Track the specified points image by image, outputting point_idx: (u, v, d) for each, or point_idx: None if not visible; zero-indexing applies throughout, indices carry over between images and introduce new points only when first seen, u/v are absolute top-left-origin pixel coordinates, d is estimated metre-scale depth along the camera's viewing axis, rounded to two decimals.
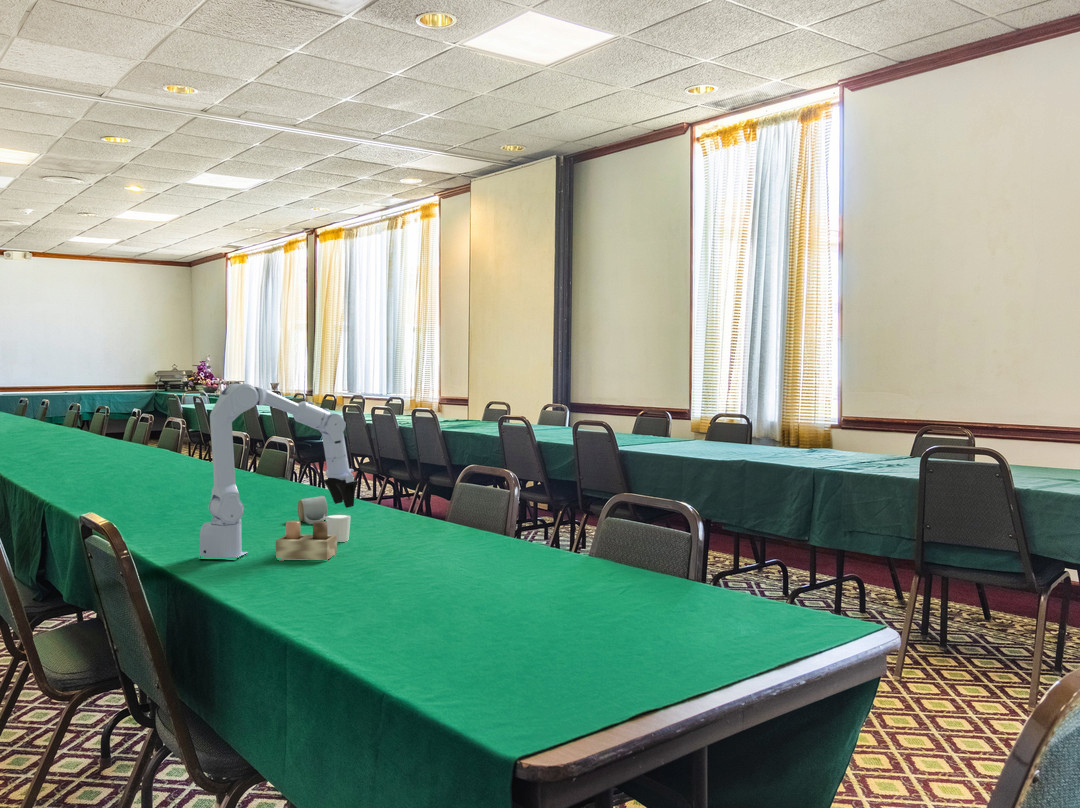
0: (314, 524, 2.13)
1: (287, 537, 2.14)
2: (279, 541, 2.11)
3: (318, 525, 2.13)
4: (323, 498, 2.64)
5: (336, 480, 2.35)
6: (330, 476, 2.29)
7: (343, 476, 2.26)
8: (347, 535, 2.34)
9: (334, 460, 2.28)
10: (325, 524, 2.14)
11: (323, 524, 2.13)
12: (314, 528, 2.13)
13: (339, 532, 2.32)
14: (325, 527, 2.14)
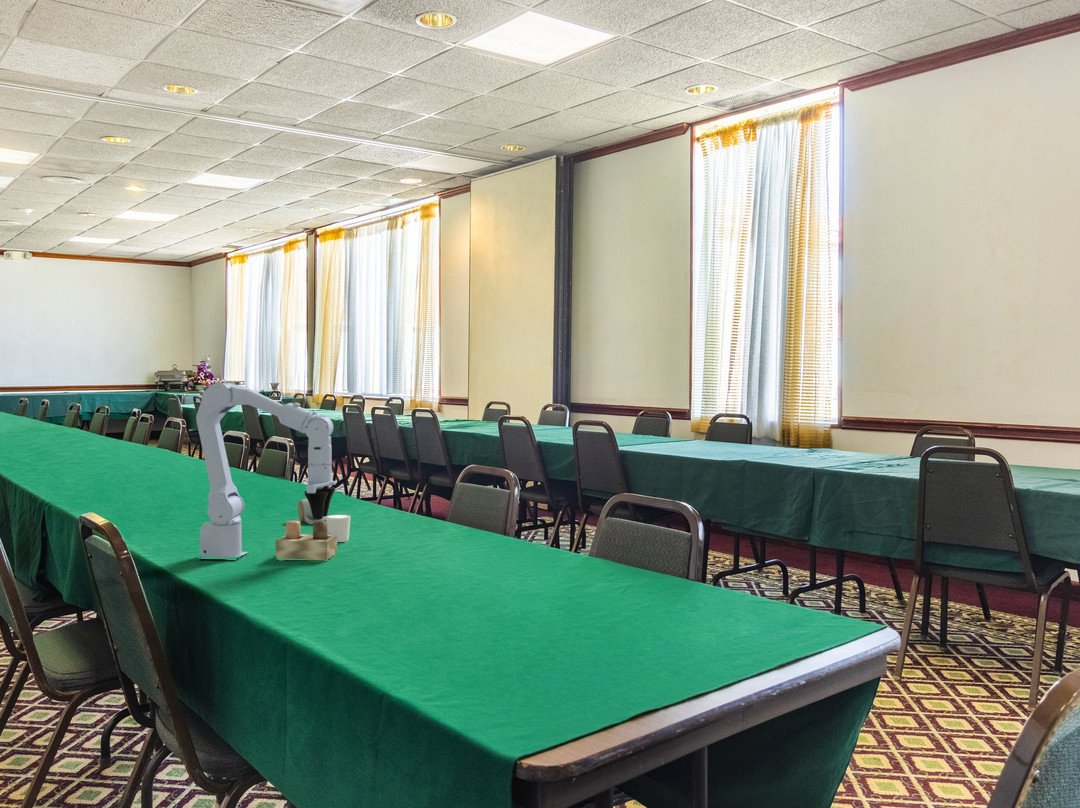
0: (314, 524, 2.13)
1: (287, 537, 2.14)
2: (279, 541, 2.11)
3: (318, 525, 2.13)
4: None
5: (323, 491, 2.16)
6: None
7: None
8: (347, 535, 2.34)
9: (310, 467, 2.12)
10: (325, 524, 2.14)
11: (323, 524, 2.13)
12: (314, 528, 2.13)
13: (339, 532, 2.32)
14: (325, 527, 2.14)
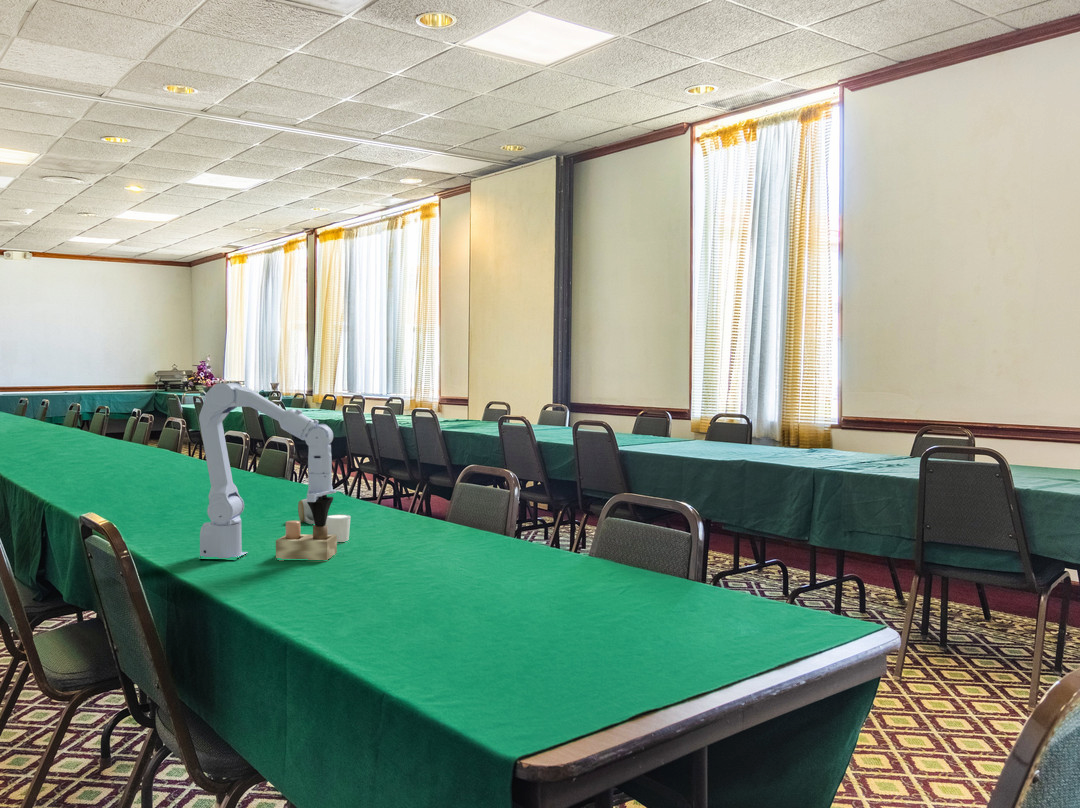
0: (314, 528, 2.13)
1: (287, 537, 2.14)
2: (279, 541, 2.11)
3: (318, 529, 2.13)
4: None
5: None
6: None
7: (308, 494, 2.08)
8: (347, 535, 2.34)
9: (310, 475, 2.12)
10: (325, 528, 2.14)
11: (323, 528, 2.13)
12: (314, 532, 2.13)
13: (339, 532, 2.32)
14: (325, 531, 2.14)
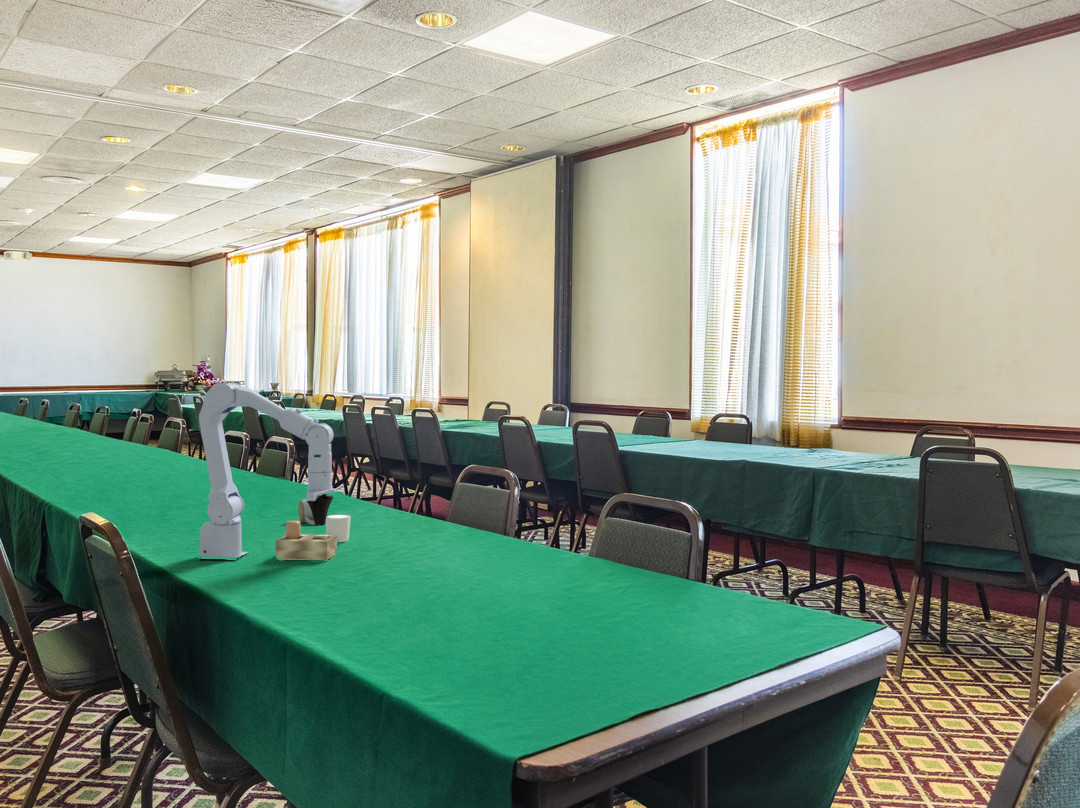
0: (314, 539, 2.13)
1: (287, 537, 2.14)
2: (279, 541, 2.11)
3: None
4: None
5: None
6: (307, 490, 2.13)
7: (307, 493, 2.08)
8: (347, 535, 2.34)
9: (310, 474, 2.12)
10: (325, 539, 2.14)
11: (323, 539, 2.13)
12: None
13: (339, 532, 2.32)
14: None
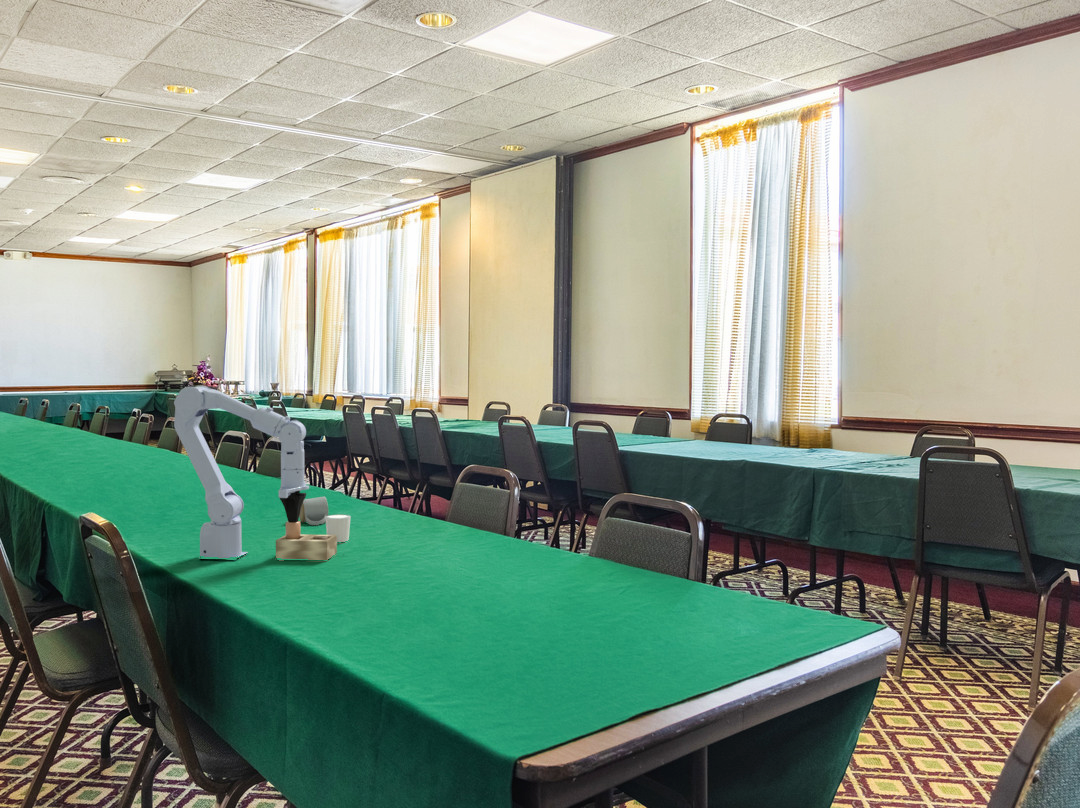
0: (314, 539, 2.13)
1: (287, 537, 2.14)
2: (279, 541, 2.11)
3: None
4: (324, 499, 2.63)
5: None
6: (280, 487, 2.14)
7: (280, 490, 2.09)
8: (347, 535, 2.34)
9: (283, 471, 2.12)
10: (325, 539, 2.14)
11: (323, 539, 2.13)
12: None
13: (339, 532, 2.32)
14: None
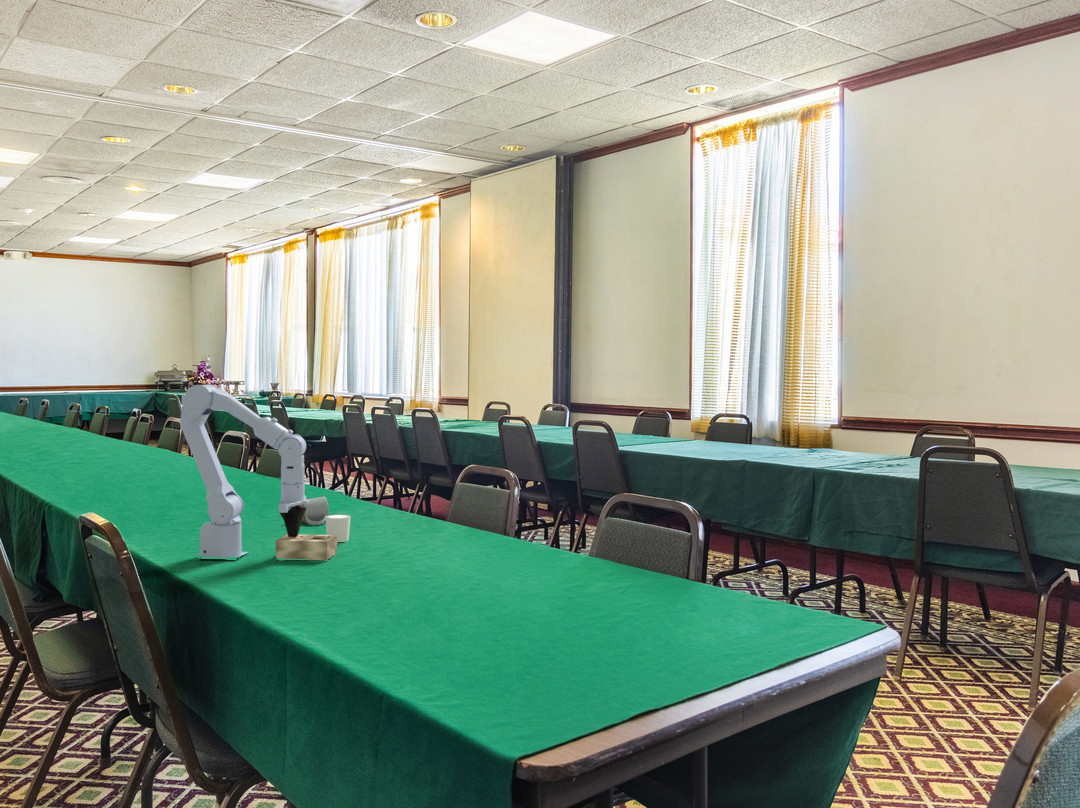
0: (314, 539, 2.13)
1: None
2: (279, 541, 2.11)
3: None
4: (324, 499, 2.63)
5: None
6: None
7: None
8: (347, 535, 2.34)
9: (283, 486, 2.12)
10: (325, 539, 2.14)
11: (323, 539, 2.13)
12: None
13: (339, 532, 2.32)
14: None
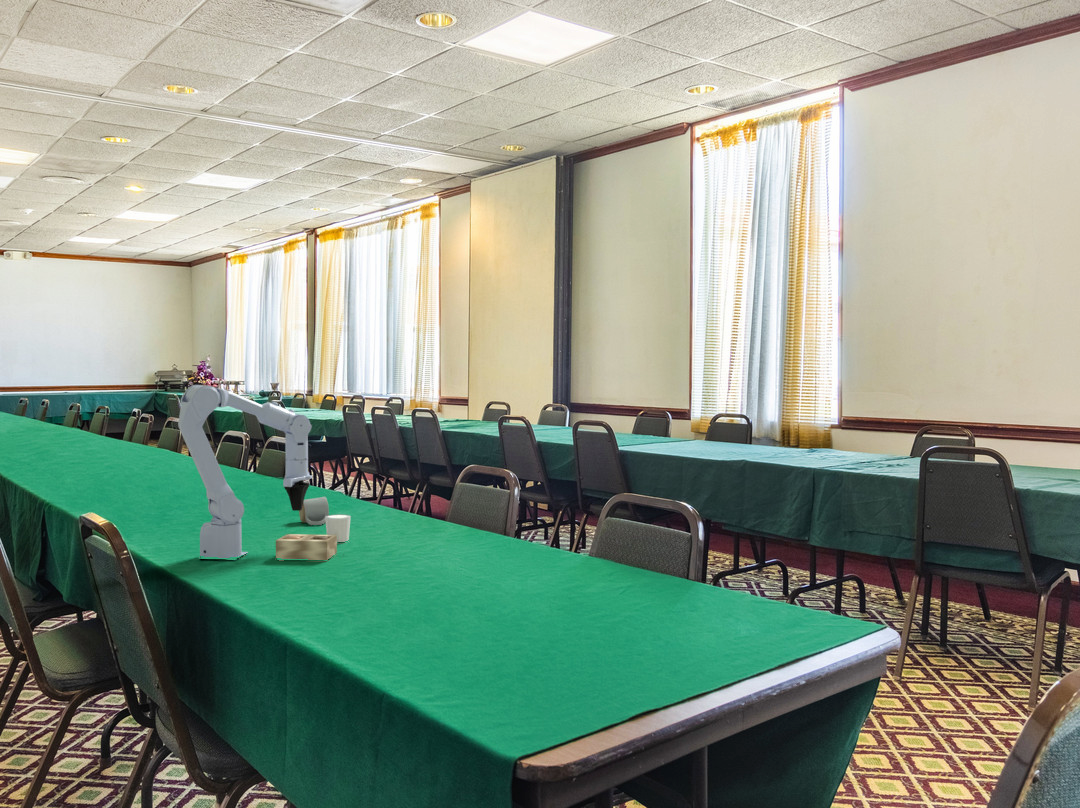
0: (314, 539, 2.13)
1: None
2: (279, 541, 2.11)
3: None
4: (324, 499, 2.63)
5: None
6: None
7: None
8: (347, 535, 2.34)
9: (287, 462, 2.22)
10: (325, 539, 2.14)
11: (323, 539, 2.13)
12: None
13: (339, 532, 2.32)
14: None
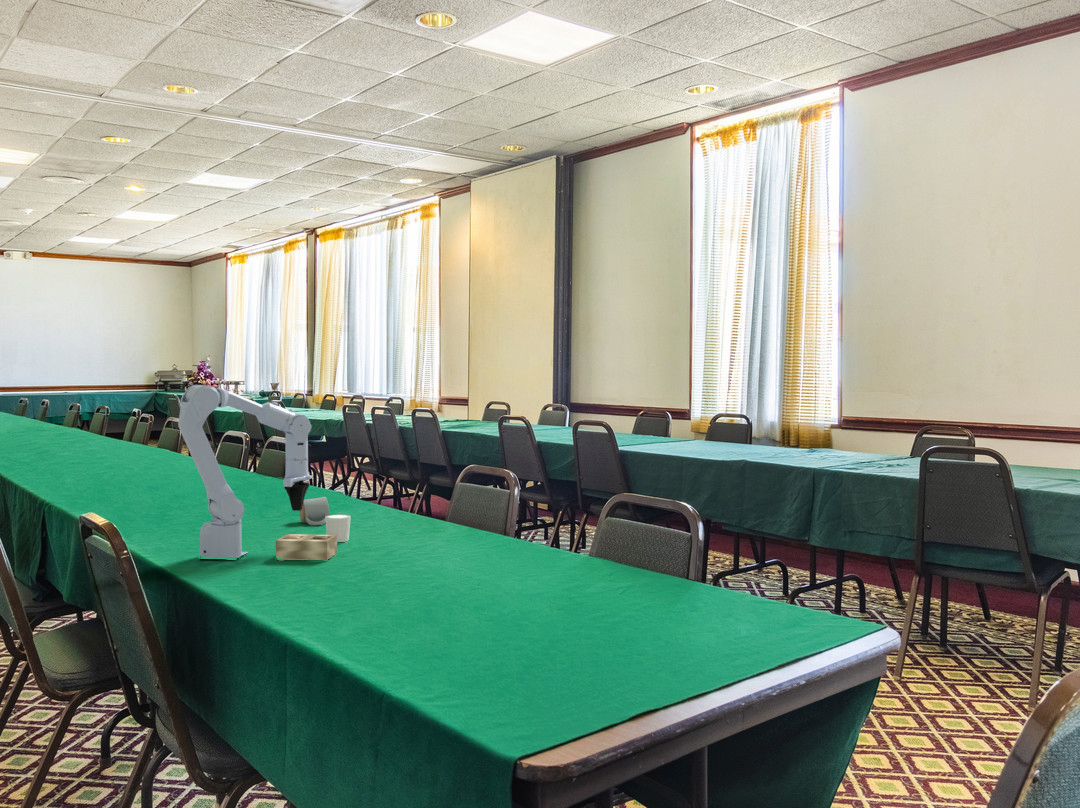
0: (314, 539, 2.13)
1: None
2: (279, 541, 2.11)
3: None
4: (325, 499, 2.62)
5: None
6: None
7: None
8: (347, 535, 2.34)
9: (287, 462, 2.22)
10: (325, 539, 2.14)
11: (323, 539, 2.13)
12: None
13: (339, 532, 2.32)
14: None
